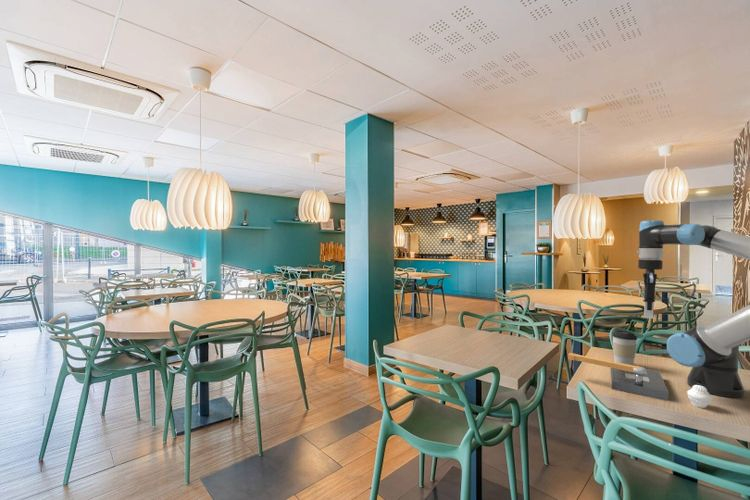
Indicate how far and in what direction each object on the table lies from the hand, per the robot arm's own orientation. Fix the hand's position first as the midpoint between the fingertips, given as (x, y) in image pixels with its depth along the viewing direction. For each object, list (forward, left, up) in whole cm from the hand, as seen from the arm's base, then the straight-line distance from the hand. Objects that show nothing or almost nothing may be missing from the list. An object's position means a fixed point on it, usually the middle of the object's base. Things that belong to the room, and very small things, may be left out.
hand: (648, 317), depth 136 cm
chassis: (+4, +9, -24) cm, 26 cm away
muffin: (-12, +20, -25) cm, 34 cm away
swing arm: (+14, +18, -17) cm, 28 cm away
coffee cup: (+7, -14, -25) cm, 29 cm away
